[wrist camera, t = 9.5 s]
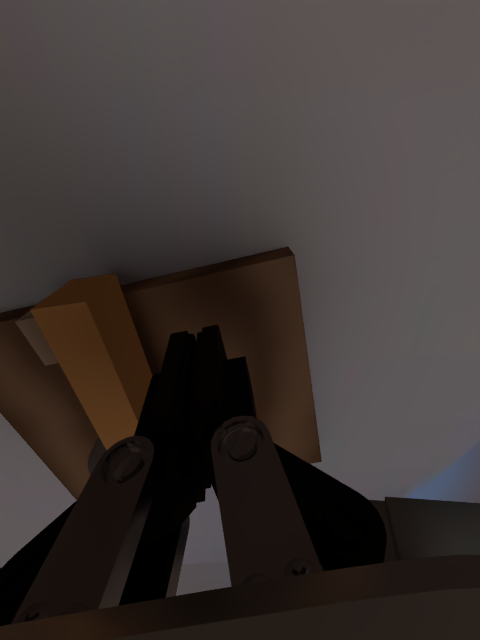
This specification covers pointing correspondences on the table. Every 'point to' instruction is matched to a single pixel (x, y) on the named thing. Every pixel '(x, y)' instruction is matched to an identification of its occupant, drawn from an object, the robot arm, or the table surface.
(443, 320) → the table surface
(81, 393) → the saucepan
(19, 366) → the wooden board with lever
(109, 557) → the robot arm
